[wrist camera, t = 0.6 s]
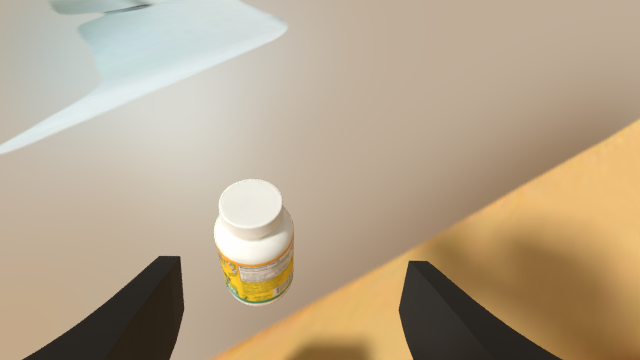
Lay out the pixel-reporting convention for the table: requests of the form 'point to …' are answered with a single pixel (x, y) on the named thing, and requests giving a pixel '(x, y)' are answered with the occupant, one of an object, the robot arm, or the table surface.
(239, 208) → the supplement bottle
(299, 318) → the table surface
